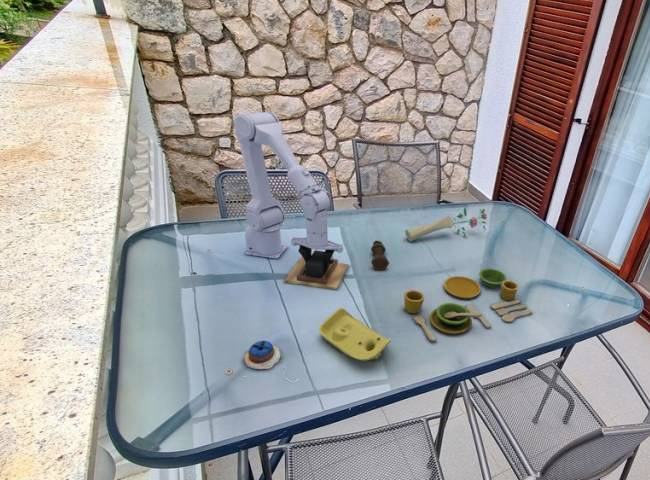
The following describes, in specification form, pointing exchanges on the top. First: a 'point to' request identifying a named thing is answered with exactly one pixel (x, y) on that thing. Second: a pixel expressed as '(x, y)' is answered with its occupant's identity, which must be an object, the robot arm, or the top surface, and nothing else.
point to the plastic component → (352, 336)
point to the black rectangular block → (315, 265)
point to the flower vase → (441, 226)
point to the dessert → (262, 355)
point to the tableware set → (457, 316)
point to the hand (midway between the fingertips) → (318, 267)
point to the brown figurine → (379, 256)
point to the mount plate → (328, 280)
